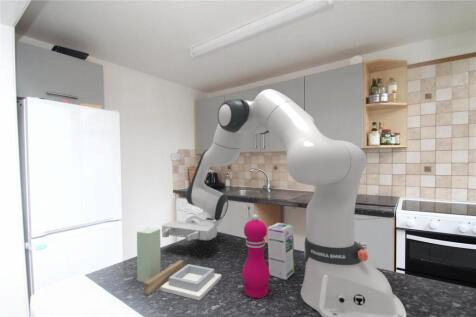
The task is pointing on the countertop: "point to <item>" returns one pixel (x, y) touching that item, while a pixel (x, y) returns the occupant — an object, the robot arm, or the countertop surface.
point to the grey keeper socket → (191, 281)
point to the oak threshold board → (161, 278)
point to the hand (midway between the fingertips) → (175, 236)
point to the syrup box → (281, 250)
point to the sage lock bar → (148, 254)
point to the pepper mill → (255, 260)
